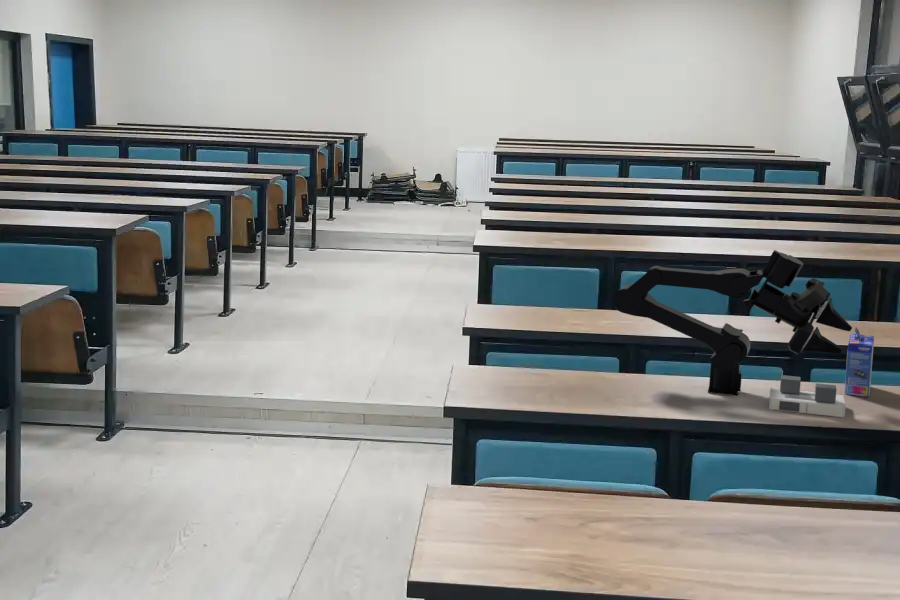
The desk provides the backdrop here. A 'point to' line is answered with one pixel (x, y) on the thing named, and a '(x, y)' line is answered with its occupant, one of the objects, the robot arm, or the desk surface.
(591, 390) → the desk surface
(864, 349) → the ink cartridge box
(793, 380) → the switch far
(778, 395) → the box
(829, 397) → the switch near
